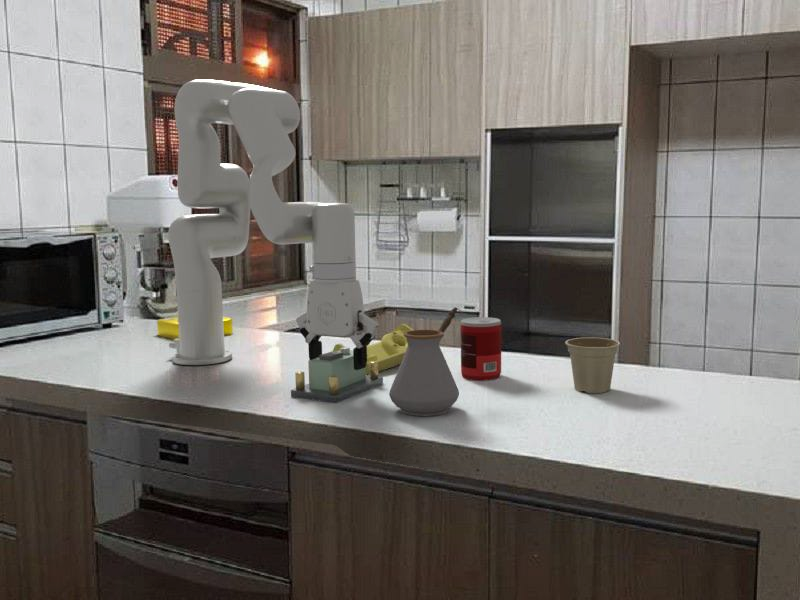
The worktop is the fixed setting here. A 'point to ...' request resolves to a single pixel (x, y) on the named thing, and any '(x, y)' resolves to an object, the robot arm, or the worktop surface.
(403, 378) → the coffee pot
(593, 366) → the flower pot
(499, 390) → the worktop surface
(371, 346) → the plastic component
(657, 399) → the worktop surface
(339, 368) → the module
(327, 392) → the chassis
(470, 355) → the canned food
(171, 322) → the element tile
